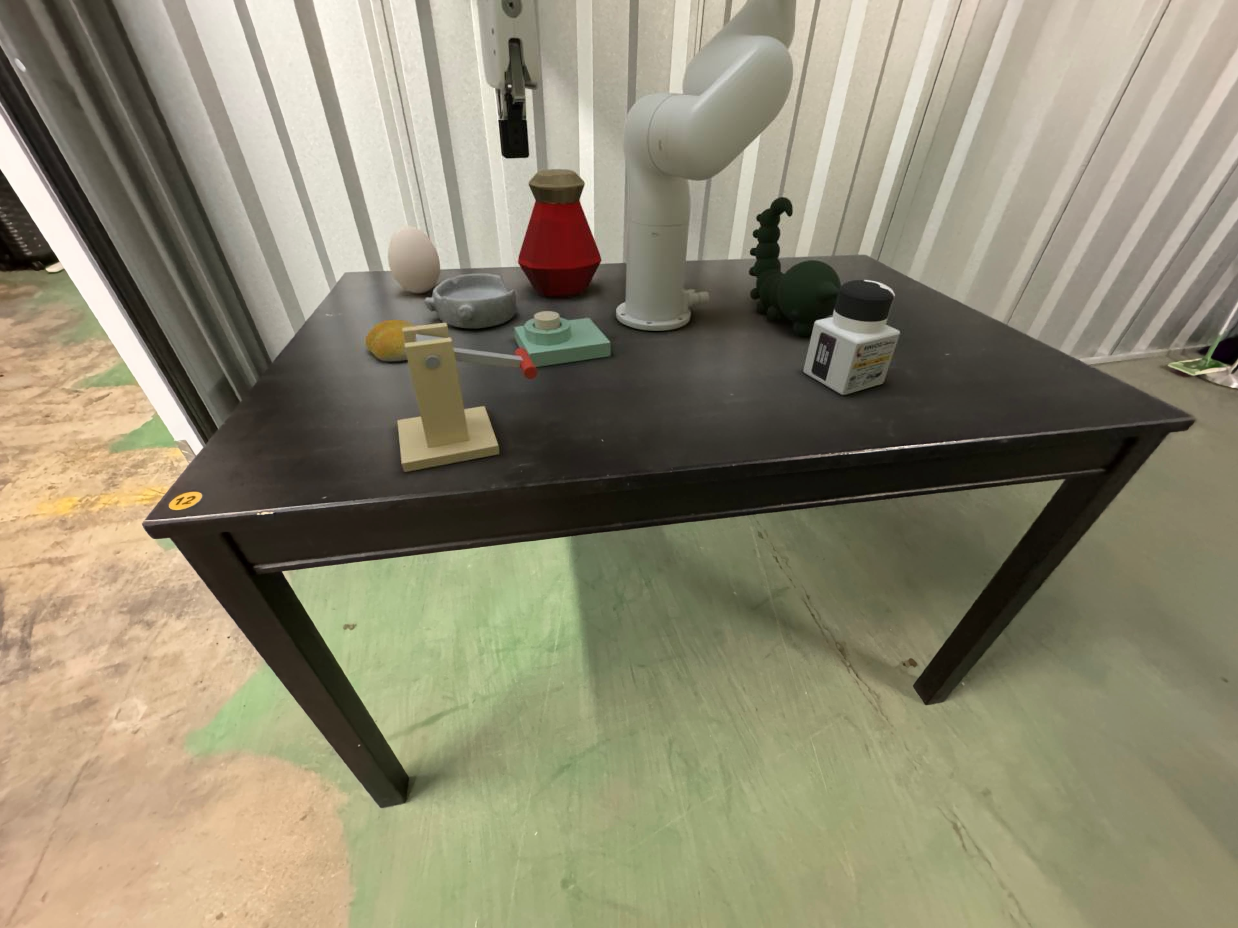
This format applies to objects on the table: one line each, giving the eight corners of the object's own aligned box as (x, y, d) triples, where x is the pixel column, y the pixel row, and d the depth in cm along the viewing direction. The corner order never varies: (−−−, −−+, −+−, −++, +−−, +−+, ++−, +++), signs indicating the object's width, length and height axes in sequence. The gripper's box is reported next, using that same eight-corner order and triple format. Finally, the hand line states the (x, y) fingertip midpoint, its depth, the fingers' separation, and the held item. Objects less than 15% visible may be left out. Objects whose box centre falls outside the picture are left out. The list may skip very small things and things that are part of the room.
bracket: (485, 414, 67) (470, 312, 59) (499, 454, 60) (484, 345, 53) (399, 428, 64) (372, 323, 56) (404, 472, 57) (373, 360, 50)
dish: (489, 295, 101) (486, 267, 98) (536, 316, 93) (534, 287, 90) (417, 315, 92) (410, 285, 89) (461, 340, 84) (456, 308, 82)
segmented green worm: (730, 307, 102) (800, 352, 82) (741, 195, 92) (824, 212, 72) (776, 304, 104) (856, 346, 83) (792, 193, 94) (887, 210, 74)
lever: (524, 364, 63) (528, 344, 62) (535, 383, 59) (539, 363, 58) (412, 350, 57) (414, 328, 56) (415, 370, 54) (418, 347, 53)
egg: (454, 292, 102) (443, 226, 95) (412, 304, 97) (398, 235, 90) (427, 281, 106) (415, 218, 100) (386, 292, 101) (370, 226, 94)
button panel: (589, 330, 88) (589, 306, 86) (610, 356, 81) (610, 330, 78) (515, 340, 85) (512, 315, 82) (530, 368, 77) (528, 341, 75)
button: (556, 321, 82) (555, 309, 81) (562, 330, 79) (562, 318, 78) (532, 324, 81) (531, 312, 80) (538, 333, 78) (537, 321, 77)
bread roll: (385, 369, 76) (378, 342, 74) (361, 347, 82) (354, 322, 79) (440, 353, 81) (435, 327, 78) (414, 333, 86) (409, 309, 84)
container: (842, 396, 72) (871, 299, 64) (801, 372, 77) (823, 280, 70) (884, 384, 75) (916, 290, 67) (841, 362, 80) (866, 272, 73)
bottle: (587, 275, 111) (585, 163, 99) (613, 296, 101) (615, 175, 89) (511, 284, 106) (499, 167, 94) (531, 307, 96) (521, 180, 84)
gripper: (551, -47, 54) (560, 165, 65) (518, -29, 65) (531, 149, 76) (474, -53, 51) (496, 167, 62) (453, -33, 63) (476, 150, 74)
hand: (515, 157), depth 69 cm, fingers closed
